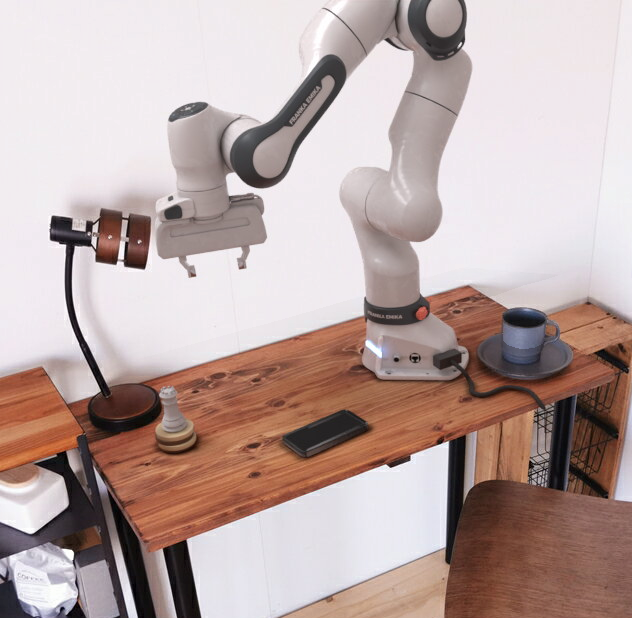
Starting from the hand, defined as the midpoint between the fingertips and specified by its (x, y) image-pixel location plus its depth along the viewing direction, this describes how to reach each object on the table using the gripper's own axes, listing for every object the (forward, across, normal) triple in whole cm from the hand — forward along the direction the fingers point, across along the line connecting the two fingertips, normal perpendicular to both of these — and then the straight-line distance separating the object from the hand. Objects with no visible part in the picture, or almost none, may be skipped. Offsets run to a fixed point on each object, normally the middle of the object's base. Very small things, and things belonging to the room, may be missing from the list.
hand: (217, 272), depth 170 cm
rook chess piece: (+22, +13, +17) cm, 30 cm away
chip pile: (+25, +13, +17) cm, 33 cm away
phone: (+26, -13, +23) cm, 37 cm away
